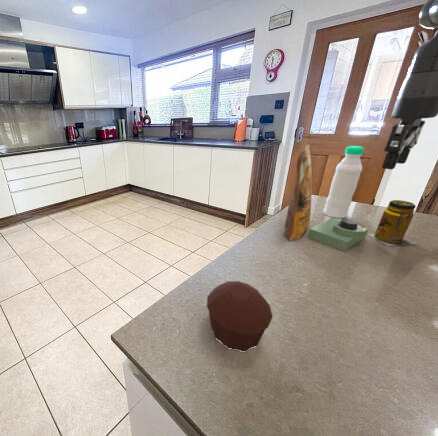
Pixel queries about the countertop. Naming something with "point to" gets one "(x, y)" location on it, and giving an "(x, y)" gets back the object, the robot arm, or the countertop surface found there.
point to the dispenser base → (336, 234)
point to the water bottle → (344, 183)
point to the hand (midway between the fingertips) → (393, 165)
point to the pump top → (348, 224)
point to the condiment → (395, 223)
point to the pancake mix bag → (300, 198)
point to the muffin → (238, 314)
